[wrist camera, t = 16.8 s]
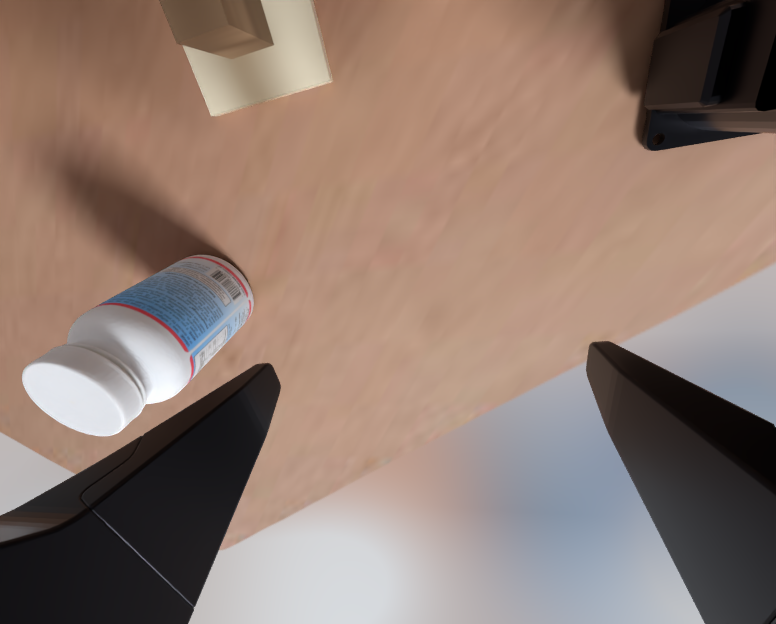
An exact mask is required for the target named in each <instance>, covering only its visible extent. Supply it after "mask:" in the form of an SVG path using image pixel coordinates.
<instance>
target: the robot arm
mask: <svg viewBox="0 0 776 624" xmlns="http://www.w3.org/2000/svg"><path fill="white" fill-rule="evenodd" d="M644 106H645V107H646V108H647V115H646V121H645V127H644V133H643V139H642V145H643V147H644V148H645V149H647V150H651V151H658V150H664V149H670V148H676V147H682V146H688V145H694V144H700V143H706V142H711V141H717V140H723V139H729V138H735V137H741V136H747V135H753V134H759V133H776V0H665V6H664V12H663V18H662V24H661V30H660V34H659V35H658V37H657V38H656V39H655V40H654V44H653V50H652V56H651V63H650V69H649V75H648V81H647V88H646V94H645V100H644ZM656 134H659V135H660V139H659V141H658V142H657V143H656V144H653V142H652V140H653V138H654V136H655V135H656ZM586 372H587V377H588V380H589V382H590V385H591V388H592V391H593V393H594V396H595V399H596V402H597V404H598V407H599V410H600V413H601V416H602V418H603V421H604V424H605V426H606V428H607V431H608V433H609V435H610V437H611V439H612V441H613V443H614V445H615V447H616V449H617V451H618V453H619V455H620V457H621V459H622V461H623V463H624V465H625V467H626V469H627V471H628V473H629V475H630V477H631V479H632V481H633V483H634V485H635V487H636V489H637V491H638V493H639V495H640V497H641V498H642V500H643V502H644V504H645V506H646V508H647V510H648V512H649V514H650V516H651V518H652V520H653V522H654V524H655V526H656V528H657V530H658V532H659V534H660V536H661V538H662V540H663V542H664V544H665V546H666V548H667V550H668V552H669V553H670V556H671V558H672V559H673V561H674V563H675V565H676V567H677V569H678V571H679V573H680V575H681V577H682V579H683V581H684V583H685V585H686V587H687V589H688V591H689V593H690V595H691V597H692V599H693V601H694V603H695V605H696V607H697V609H698V611H699V612H700V615H701V617H702V619H703V621H704V623H705V624H776V427H775V426H774V424H772V423H770V422H768V421H767V420H765V419H763V418H761V417H758V416H757V415H755V414H753V413H751V412H749V411H747V410H745V409H743V408H741V407H739V406H737V405H735V404H733V403H731V402H729V401H727V400H725V399H723V398H721V397H719V396H717V395H715V394H713V393H711V392H709V391H707V390H705V389H703V388H701V387H699V386H697V385H695V384H693V383H691V382H689V381H687V380H685V379H683V378H681V377H679V376H677V375H675V374H673V373H671V372H669V371H668V370H666V369H663V368H662V367H660V366H658V365H656V364H653V363H652V362H649V361H648V360H646V359H644V358H642V357H640V356H638V355H636V354H634V353H632V352H630V351H628V350H626V349H624V348H622V347H620V346H618V345H616V344H614V343H612V342H610V341H601V342H592V343H591V344H590V346H589V350H588V358H587V366H586ZM280 389H281V385H280V382H279V379H278V377H277V375H276V373H275V370H274V368H273V366H272V365H271V364H269V363H262V364H256V365H254V366H253V367H251V368H250V369H248V370H246V371H245V372H243V373H242V374H240V375H238V376H237V377H235V378H234V379H232V380H230V381H229V382H227V383H225V384H224V385H222V386H221V387H219V388H217V389H216V390H214V391H213V392H211V393H209V394H208V395H206V396H205V397H203V398H201V399H200V400H198V401H196V402H195V403H193V404H192V405H190V406H188V407H187V408H185V409H184V410H182V411H180V412H179V413H177V414H176V415H174V416H172V417H171V418H169V419H167V420H166V421H164V422H163V423H161V424H159V425H158V426H156V427H155V428H153V429H151V430H150V431H148V432H147V433H145V434H144V435H143V436H140V437H138V438H137V439H135V440H134V441H132V442H130V443H129V444H127V445H125V446H124V447H122V448H121V449H119V450H117V451H116V452H114V453H112V454H111V455H109V456H107V457H106V458H104V459H102V460H100V461H99V462H97V463H95V464H94V465H92V466H90V467H88V468H87V469H85V470H83V471H81V472H80V473H78V474H76V475H74V476H73V477H71V478H69V479H67V480H66V481H64V482H62V483H60V484H59V485H57V486H55V487H53V488H51V489H50V490H48V491H46V492H44V493H43V494H41V495H39V496H37V497H35V498H34V499H32V500H30V501H28V502H27V503H25V504H23V505H21V506H19V507H17V508H16V509H14V510H12V511H10V512H7V513H5V514H3V515H1V516H0V624H188V623H189V621H190V618H191V615H192V613H193V611H194V607H195V606H196V603H197V601H198V598H199V596H200V594H201V591H202V589H203V587H204V584H205V582H206V579H207V577H208V574H209V572H210V570H211V567H212V565H213V563H214V560H215V558H216V555H217V553H218V551H219V548H220V546H221V543H222V541H223V539H224V536H225V534H226V532H227V529H228V527H229V524H230V522H231V520H232V517H233V515H234V512H235V510H236V508H237V505H238V503H239V500H240V498H241V496H242V493H243V491H244V488H245V486H246V484H247V481H248V479H249V477H250V474H251V472H252V469H253V467H254V465H255V462H256V460H257V457H258V455H259V453H260V450H261V448H262V445H263V443H264V441H265V438H266V435H267V432H268V429H269V426H270V423H271V420H272V417H273V413H274V410H275V407H276V403H277V400H278V397H279V394H280Z"/></svg>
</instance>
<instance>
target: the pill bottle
mask: <svg viewBox="0 0 776 624" xmlns="http://www.w3.org/2000/svg"><path fill="white" fill-rule="evenodd" d="M253 305H254V300H253V294H252V291H251V288H250V286H249V284H248V282H247V281H246V279H245V278H244V276H243V275H242V274H241V273H240V272H239V271H238V270H237V269H236V268H235V267H234V266H232V265H231V264H230V263H228V262H226V261H225V260H222V259H220V258H218V257H214V256H210V255H194V256H189V257H186V258H184V259H182V260H180V261H178V262H176V263H174V264H172V265H170V266H169V267H167V268H165V269H163V270H161V271H160V272H158V273H156V274H154V275H152V276H151V277H149V278H147V279H145V280H143V281H142V282H140V283H138V284H136V285H134V286H132V287H131V288H129V289H127V290H125V291H123V292H121V293H120V294H118V295H116V296H114V297H112V298H110V299H109V300H107V301H105V302H103V303H101V304H99V305H98V306H96V307H94V308H92V309H91V310H89V311H87V312H86V313H84V314H83V315H81V316H80V317H79V318H78V319H77V320H76V321H75V322H74V324H73V325H72V327H71V329H70V331H69V334H68V340H67V344H64V345H62V346H58V347H55V348H53V349H51V350H50V351H49V352H47V353H46V354H45V355H43V356H41V357H40V358H38V359H36V360H35V361H33V362H31V363H30V364H29V365H28V366H26V367H25V369H24V371H23V374H22V381H23V385H24V387H25V389H26V391H27V393H28V395H29V396H30V397H31V399H32V400H33V401H34V402H35V403H36V405H38V406H39V407H40V408H41V409H42V410H43V411H44V412H46V413H47V414H48V415H49V416H51V417H52V418H54V419H55V420H57V421H58V422H60V423H62V424H64V425H66V426H68V427H70V428H72V429H74V430H77V431H80V432H83V433H86V434H90V435H95V436H110V435H114V434H117V433H119V432H120V431H121V430H123V429H124V428H125V427H126V426H127V425H128V424H129V423H130V422H131V421H132V420H133V419H134V418H136V417H137V416H138V415H139V414H140V413H141V411H142V409H143V408H144V406H145V404H152V403H158V402H162V401H165V400H167V399H169V398H171V397H173V396H175V395H176V394H177V393H179V392H180V391H181V390H182V389H183V388H184V387H185V386H186V385H187V384H188V383H189V382H190V381H191V379H193V377H194V376H195V375H196V374H197V373H198V372H199V371H200V370H201V369H202V368H203V367H204V366H205V365H206V364H207V363H208V361H209V360H210V359H211V358H212V357H213V356H214V355H215V354H216V353H217V352H218V351H219V350H220V349H221V348H222V347H223V345H224V344H225V343H226V342H227V341H228V340H229V339H230V338H231V337H232V336H233V335H234V334H235V333H236V332H237V331H238V330H239V329H240V328H241V327H242V326H243V325H244V323H245V322H246V321H247V320H248V319H249V317H250V315H251V313H252V311H253Z"/></svg>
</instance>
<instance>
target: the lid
mask: <svg viewBox="0 0 776 624" xmlns="http://www.w3.org/2000/svg"><path fill="white" fill-rule="evenodd" d="M159 1H160V3H161V6H162V8H163V11H164V13H165V15H166V18H167V20H168V23H169V25H170V28H171V30H172V32H173V35H174V37H175V40H176V42H177V44H181V45H183V48H184V50H185V53H186V55H187V57H188V60H189V62H190V65H191V67H192V70H193V72H194V75H195V77H196V80H197V82H198V85H199V87H200V89H201V92H202V94H203V97H204V99H205V102H206V104H207V107H208V109H209V112H210V114H211V116H219V115H223V114H226V113H230V112H233V111H236V110H240V109H243V108H247V107H250V106H253V105H257V104H260V103H263V102H267V101H270V100H274V99H277V98H280V97H284V96H287V95H291V94H294V93H297V92H301V91H304V90H307V89H311V88H314V87H318V86H321V85H324V84H328V83H331V82H333V79H332V75H331V71H330V67H329V63H328V59H327V55H326V50H325V46H324V42H323V38H322V34H321V30H320V26H319V22H318V18H317V14H316V10H315V6H314V1H313V0H159Z"/></svg>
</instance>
